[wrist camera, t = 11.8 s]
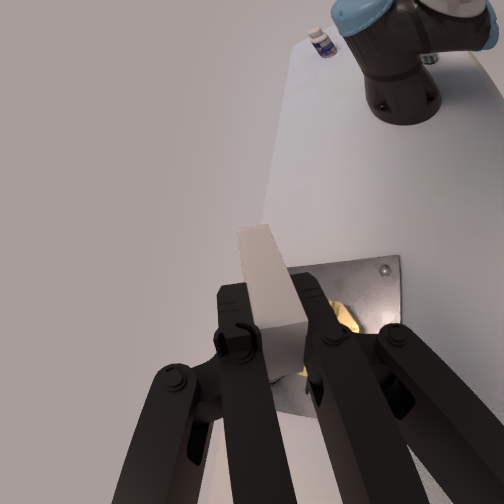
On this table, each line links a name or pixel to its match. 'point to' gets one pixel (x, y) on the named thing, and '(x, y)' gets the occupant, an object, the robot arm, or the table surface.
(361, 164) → the table surface
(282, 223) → the table surface
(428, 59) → the grey elongated piece
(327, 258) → the table surface
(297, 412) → the flange
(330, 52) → the pill bottle
